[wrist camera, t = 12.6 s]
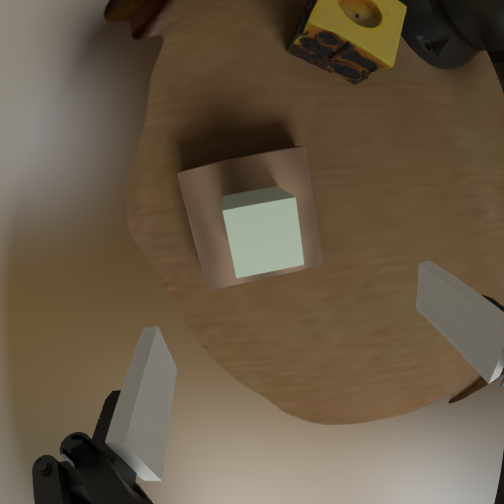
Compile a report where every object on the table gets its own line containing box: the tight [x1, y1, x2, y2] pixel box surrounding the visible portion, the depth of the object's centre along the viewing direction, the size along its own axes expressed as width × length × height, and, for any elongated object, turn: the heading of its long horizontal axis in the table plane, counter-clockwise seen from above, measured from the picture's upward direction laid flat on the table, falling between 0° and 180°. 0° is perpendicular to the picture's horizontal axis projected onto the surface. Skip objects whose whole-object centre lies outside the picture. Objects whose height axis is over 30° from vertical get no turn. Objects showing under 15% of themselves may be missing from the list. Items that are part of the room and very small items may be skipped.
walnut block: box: [177, 146, 323, 291], centre depth 34 cm, size 14×14×5 cm
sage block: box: [222, 186, 304, 278], centre depth 28 cm, size 6×6×8 cm
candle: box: [287, 0, 407, 85], centre depth 25 cm, size 10×10×10 cm
